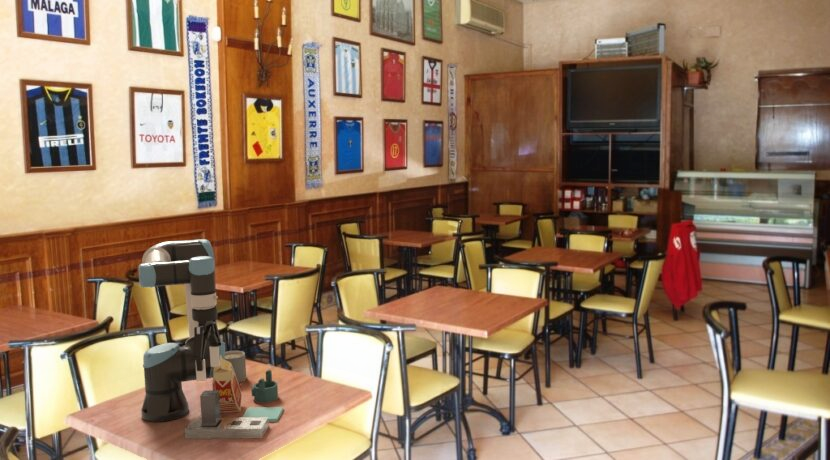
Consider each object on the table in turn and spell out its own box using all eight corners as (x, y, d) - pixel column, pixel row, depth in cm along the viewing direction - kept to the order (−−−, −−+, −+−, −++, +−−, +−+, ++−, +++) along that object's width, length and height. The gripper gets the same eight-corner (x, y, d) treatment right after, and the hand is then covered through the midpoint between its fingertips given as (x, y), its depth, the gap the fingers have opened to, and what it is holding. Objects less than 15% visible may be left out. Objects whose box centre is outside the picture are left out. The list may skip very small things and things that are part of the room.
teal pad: (240, 422, 227) (240, 419, 227) (248, 410, 237) (248, 407, 237) (277, 421, 227) (276, 418, 227) (283, 409, 237) (283, 407, 237)
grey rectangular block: (202, 435, 217) (200, 395, 216) (207, 429, 222) (204, 390, 220) (216, 435, 217) (214, 395, 216) (221, 429, 222) (218, 390, 220)
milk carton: (240, 412, 237) (234, 368, 226) (212, 414, 235) (204, 371, 225) (241, 392, 244) (235, 349, 234) (215, 395, 243) (207, 352, 232)
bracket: (271, 392, 254) (270, 368, 253) (282, 399, 247) (281, 375, 246) (248, 398, 249) (246, 374, 248) (258, 405, 241) (257, 380, 240)
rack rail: (185, 438, 215) (184, 429, 215) (194, 426, 224) (194, 417, 224) (261, 438, 215) (261, 428, 214) (268, 426, 224) (268, 416, 223)
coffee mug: (239, 384, 263) (237, 359, 261) (215, 383, 265) (213, 357, 263) (254, 372, 276) (253, 348, 274) (231, 371, 278) (229, 347, 276)
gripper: (203, 316, 202) (207, 386, 204) (228, 297, 227) (231, 360, 229) (177, 316, 202) (182, 387, 205) (205, 298, 227) (209, 361, 229)
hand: (208, 373), depth 217 cm, fingers open, 13 cm apart
